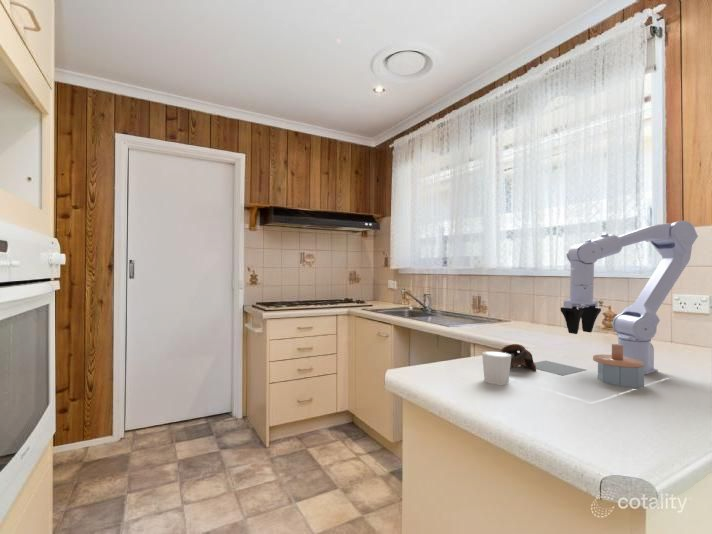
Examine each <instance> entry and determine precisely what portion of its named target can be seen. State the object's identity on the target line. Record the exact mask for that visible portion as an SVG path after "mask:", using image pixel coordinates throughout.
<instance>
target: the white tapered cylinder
mask: <svg viewBox="0 0 712 534" xmlns="http://www.w3.org/2000/svg"><path fill="white" fill-rule="evenodd" d="M499 351H500V350H498V351H496V350H486V351H483V352H481V354H482V364H483V366H482V367H483V368H482V369H483V378H484V380H483V381H484V382H486V383H488V384H491V383H492V385H496V384H505V385H508V384H509V380H510V372H511V368H510V364H511V354H508V353H506V352H499ZM507 383H508V384H507Z"/></svg>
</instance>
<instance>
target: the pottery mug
mask: <svg viewBox="0 0 712 534" xmlns="http://www.w3.org/2000/svg"><path fill="white" fill-rule="evenodd" d="M498 351H499V352H505V353H508V354H511V364H510V369H513V367H514V368H517V367H519V366H520V367H525V368H530V369H532V370H533V371H535V372H537V369H536V365H535V362H534V358H533V354H532V353H531V352H530V351H529V350H528V349H526V347H524V345H521V344H519V343H512V344H508V345H505V346H504V347H502V348H501V349H500V350H498Z"/></svg>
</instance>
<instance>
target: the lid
mask: <svg viewBox="0 0 712 534" xmlns="http://www.w3.org/2000/svg"><path fill="white" fill-rule="evenodd" d="M592 360H593V362H596V363H597V364H598V363H601V364H606V365H611V366H617V367H626V368H640V367H643V362H642V361H640V360H638V359H634V358H630V357H624V356H623V345H619V344H618V343H611V354H595V355H593V356H592Z"/></svg>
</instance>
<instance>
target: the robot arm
mask: <svg viewBox="0 0 712 534" xmlns="http://www.w3.org/2000/svg"><path fill="white" fill-rule="evenodd" d="M698 237H699V235H698V234H697V231H696V228H695V226H694V225H693V224H692V223H691V222H690V221H688V220H679V221H675V222H668V223H667V222H666V223H662V224H659V223H658V224H654V225H648V226H644V227H641V228H637V229H635V230H633V231H629V232H627V233H624V234H620V235H619V236H618V235H615V234H609V233H603V234H601V235H600V237H598V238H594V239H587V240H584V243H580V244H579V243H578V244H574V245H571V247H570V248H569V250H568V253H566V257H567V260H568V261H569V263H570V264H569V265H570V274H569V275H570V276H569V277H570V279H569V280H570V281H569V283H570V284H569V299H565V300H563V306H562V307H560V312H561V314H562V315H563V317H564V320H565V324H566V327H567V332H568V333H569V334H573V335H578V333H579V328H580V321H581V329H582V331H583V333H584V332H585V333H590V334H591V333H592V332H593V329H594V325H595V323H596V320H597V318H598V316H599V315H600V313H601V312H602V308H599V307H598V305H599V304H598V300H594V279H595V278H594V275H595V273H594V272H595V263H596V262H597V261H598V260H600V259H603V258H606V257H610V256H614V255H617V254H619V253H620V252H621V251H622V249H623V248H624V247H626V246H631V245H634V244H637V243H640V242H644V241H645V242H650V244H651V245H652V246H653V248H654V249H655V250H656V251H657V252H658V254H659V255H660V256H661V257H662V259H661V260H660V262H659V264H658V265H657V267H656V269H655V270H654V272H653V273H652V274H651V276H650V278H649V279H648V281H647V282H646V284H645V286H644V287H643V289H641V292H640V293H639V295H638V297H637V298H636V299H635V301H634V303H632V304H631V305H628V306H627V307H625V308H624V309H623V310H622V312H620V314H617V315H616V316H615V317H614V318H613V320H612V323H611V324H612V325H611V326H612V329H613V331H614V332H615V333H616V336H617V344H619V345H623V356H624V357H630V358H634V359H638V360H640V361H642V362H643V366H644V375H647V374H650V373H655V372H658V370H659V369H657V368H654V367H655V348H654V345H653V344H652V339H653V338H654V337H655V335H656V334H657V327H658V325H659V322H660V320H661V319H660V317H659V316H658V315H657V312H658V310H659V309H660V307H661V305H662V304H663V303H664V301H665V300H666V298H667V296H669V293H670V291H672V289H673V287H674V286H675V284H676V283H677V281H678V279H679V278H680V276H681V275H682V273H683V271H685V268H686V267H687V265H688V264H689V262H690V260H691V256H692V250H693V245H694V243H695V242H696V240H697V238H698Z"/></svg>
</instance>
